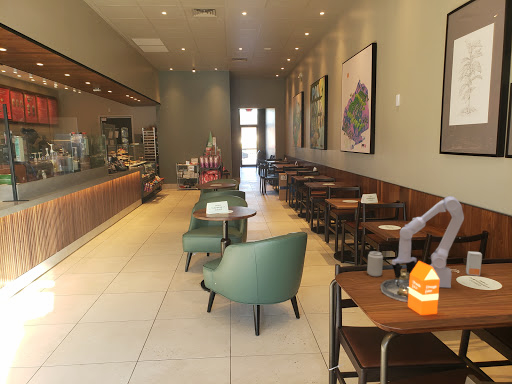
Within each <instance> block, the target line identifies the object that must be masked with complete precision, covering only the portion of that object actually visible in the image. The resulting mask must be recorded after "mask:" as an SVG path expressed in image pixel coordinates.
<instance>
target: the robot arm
mask: <svg viewBox="0 0 512 384" xmlns="http://www.w3.org/2000/svg"><path fill="white" fill-rule="evenodd" d="M447 211H448V213H449V214H450V216H451V219H450V221H449V223H448V226H447V228H446V230H445V232H444V234H443V236H442V239H441V240H440V243H439V245H438V247H437V248H436V249H435V251H434V252H433V253H432V254H431V255H430V260H431V264H429V266H432V267H433V269H434V270H435V272H436V274H437V276H438V277H439V279H440V280H439V288H446V289H451V288H452V286H451V285H452V284H451V283H452V270H451V268H450V267H447V259H448V256H449V253H450V252H449V251H450V250H451V247H452V245H453V243H454V241H455V239H456V237H457V234H458V233H459V231H460V228H461V226H462V224H463V222H464V221H465V220H464V219H465V215H464V212H463V206H462V204H461V203H460V201H459V200H458V199H457V198H456V197H455V196H453V195H448V196H446V197H445V198H443V199H441V200H440V201H439V202H437V203H436V204H435V205H433V206H432V207H431V208H429V210H428V211H426V212H425V213H424V214H423V215H421V216H417V217H413V218H412V220H411V221H410V222H408V223H407V224H404V226H403V227H402V228H401V229H400V230H399V236H400V237H399V242H398V256H397V257H396V258H395V259H392V260H391V264H390V265H391V267H392V269H393V271H394V277H395V279H396V278H399V277H400V271H401V270H402V268H403V265H401V264H405V266H406V270H407V271H409V277H410V273H411V272H412V270H413V269H414V267H415V266H416V264H417V263H418V262H417V257H414V256H412V257H411V255H412V254H411V253H412V239H413V235H415V234H416V233H418V232H420V231H421V230H423V228H425V227H426V224H427V223H426V222H428V221H429V220H431V219H432V218H433V217H435V216H436V215H437V214H439V213H446V212H447Z"/></svg>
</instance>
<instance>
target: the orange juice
mask: <svg viewBox="0 0 512 384" xmlns="http://www.w3.org/2000/svg"><path fill="white" fill-rule="evenodd" d="M416 263H417V264H416V266H415V267H414V269H413V270H412V272H411V273H410V276H409V279H410V280H409V295H408V302H407V307H408V308H409V309H411V310H412V311H414V312H416V313H417V314H419V315H420V316H427V315H436V314H438V304H439V295H440V293H439V290H440V287H439V280H440V279H439V277H438V276H437V274H436V272H435V270H434V269H433V267H432V266H430V264H427V263H425V262H423V261H421V260H418V261H417V262H416Z"/></svg>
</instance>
